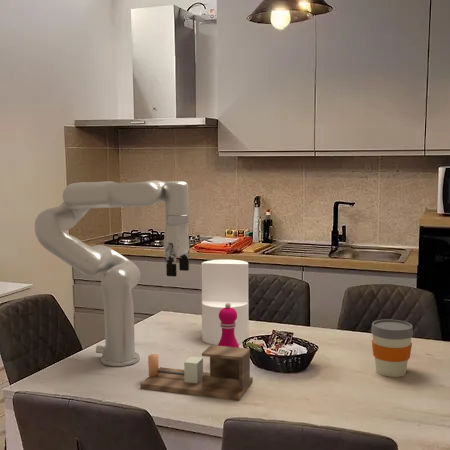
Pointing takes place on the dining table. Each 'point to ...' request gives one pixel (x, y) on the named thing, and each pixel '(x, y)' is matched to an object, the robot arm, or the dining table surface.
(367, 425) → the dining table surface
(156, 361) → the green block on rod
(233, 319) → the pepper mill
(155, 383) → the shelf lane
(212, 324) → the cylinder
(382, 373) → the reusable coffee cup
